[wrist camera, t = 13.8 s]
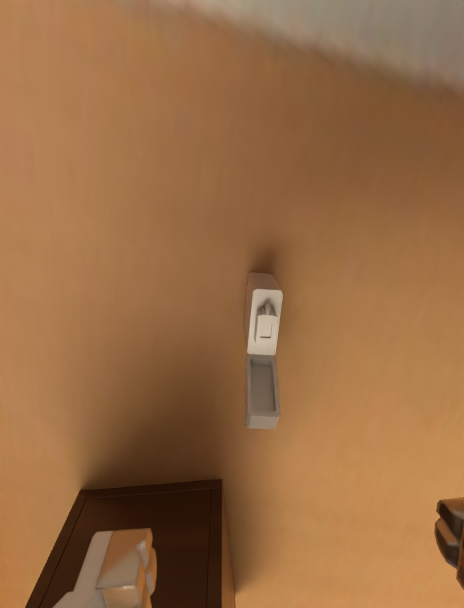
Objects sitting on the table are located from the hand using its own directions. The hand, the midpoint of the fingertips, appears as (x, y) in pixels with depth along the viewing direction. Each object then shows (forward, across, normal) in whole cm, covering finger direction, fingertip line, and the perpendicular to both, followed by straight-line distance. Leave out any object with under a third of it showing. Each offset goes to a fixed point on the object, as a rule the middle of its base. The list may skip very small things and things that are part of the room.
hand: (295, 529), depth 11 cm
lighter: (+17, -1, 0) cm, 17 cm away
